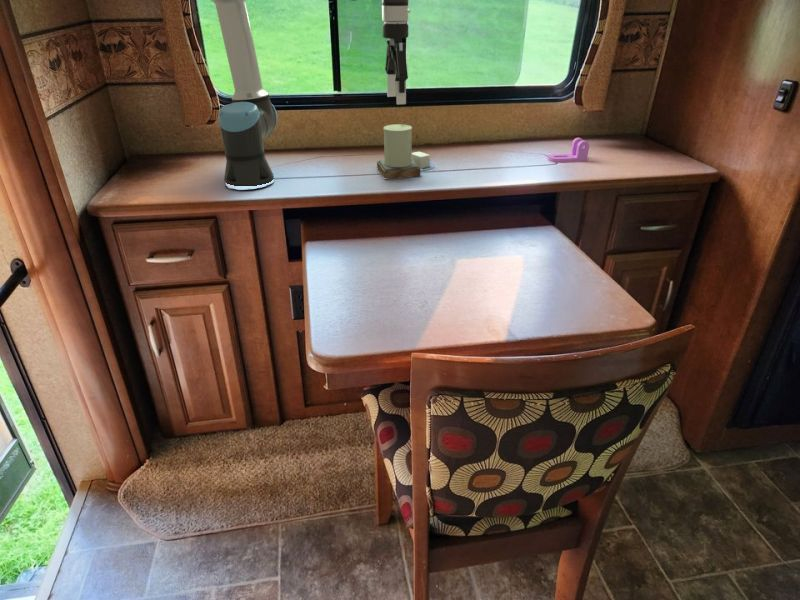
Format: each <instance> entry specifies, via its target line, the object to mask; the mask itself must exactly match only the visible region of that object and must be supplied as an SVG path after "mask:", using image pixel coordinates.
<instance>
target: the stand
mask: <svg viewBox="0 0 800 600" xmlns="http://www.w3.org/2000/svg"><path fill="white" fill-rule="evenodd" d="M384 161H385V159H379V160H377V161H376V168H378V169H377V171H378V170H379V171H380V172H379V171H378V172H379V174H380V173H381V174H382V175H381V174H380V175H381V176H383V177H384V178H393V179H400V178H399V177H405V178H415V176H416V177H421V169H422V168H419V166H418V165H417V164H416V163H415V162H414V161H413V160H412V164H411V165H409V166H406V167H389V166H386V165H385V164H384ZM383 177H382V178H383ZM384 178H383V179H384Z"/></svg>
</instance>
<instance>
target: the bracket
mask: <svg viewBox="0 0 800 600" xmlns="http://www.w3.org/2000/svg"><path fill="white" fill-rule="evenodd" d="M589 150H590V143H589V142H588V141H586V140H584V139H583V138H581V137H576V138H574V139H573V140H572V144H571V149H570V153H559V154H549V155H547V161H548V162H550V163H555V164H556V163H577V162H578V163H579V162H587V161H588V157H589V156H588V155H589Z"/></svg>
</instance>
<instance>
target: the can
mask: <svg viewBox="0 0 800 600" xmlns="http://www.w3.org/2000/svg"><path fill="white" fill-rule="evenodd" d="M412 131H413V127H412V126H411V125H409V124H401V123H399V124H398V123H397V124H388V125H385V126H384V127H383V144H384V145H383V146H384V147H383V149H384V155H383V156H384V160H385V161H384V164H385V165H386V166H389V167H406V166H409V165H411V164H412V153H413V152H412V151H413V150H412V146H413V143H412V139H413V134H412Z"/></svg>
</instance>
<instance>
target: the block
mask: <svg viewBox="0 0 800 600" xmlns="http://www.w3.org/2000/svg"><path fill="white" fill-rule="evenodd" d="M430 159H431V155H430V154H428V153H425V152H422V151H415V152H412V160H413V161H414V162H415V163H416V164H417V165H418V166H419V168H420V169H425V168H428V167H430V166H431V160H430Z"/></svg>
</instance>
